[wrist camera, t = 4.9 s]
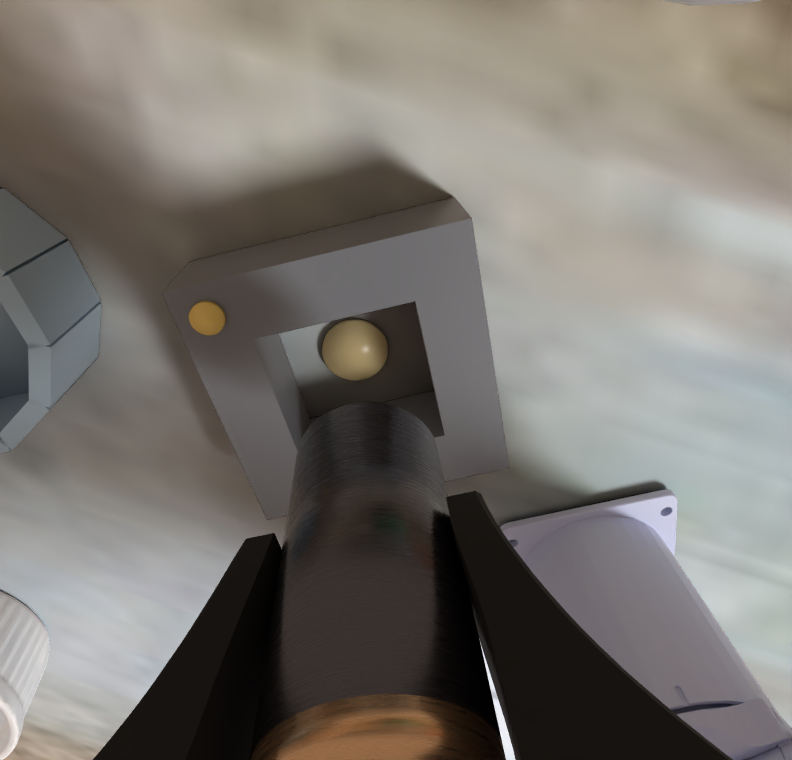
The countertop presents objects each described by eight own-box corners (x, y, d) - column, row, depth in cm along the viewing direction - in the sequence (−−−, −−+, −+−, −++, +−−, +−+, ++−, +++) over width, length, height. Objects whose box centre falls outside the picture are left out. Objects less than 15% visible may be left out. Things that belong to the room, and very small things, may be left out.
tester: (490, 421, 22) (510, 471, 19) (277, 468, 22) (266, 523, 20) (454, 196, 17) (473, 219, 15) (189, 261, 18) (159, 295, 15)
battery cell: (448, 499, 15) (533, 887, 8) (319, 526, 15) (287, 929, 8) (423, 387, 13) (506, 760, 6) (277, 419, 13) (187, 819, 6)
